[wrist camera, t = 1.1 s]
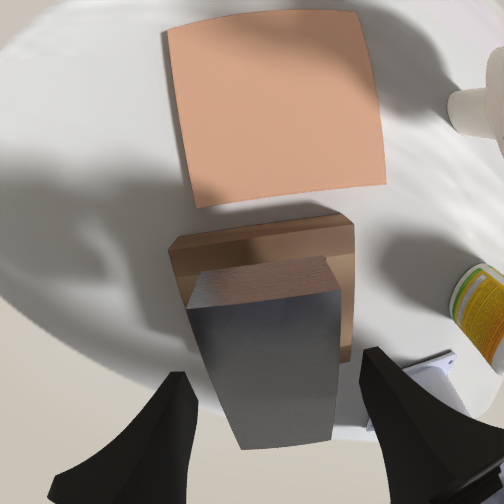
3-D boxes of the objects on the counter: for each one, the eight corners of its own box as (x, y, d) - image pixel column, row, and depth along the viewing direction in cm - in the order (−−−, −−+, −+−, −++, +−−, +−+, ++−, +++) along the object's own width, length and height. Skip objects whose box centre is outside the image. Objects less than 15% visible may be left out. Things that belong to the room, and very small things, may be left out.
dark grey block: (310, 347, 18) (331, 439, 11) (245, 355, 18) (241, 449, 11) (301, 218, 14) (341, 289, 7) (217, 230, 15) (185, 309, 8)
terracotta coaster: (381, 182, 14) (386, 184, 13) (198, 205, 14) (196, 208, 14) (353, 15, 10) (356, 11, 9) (170, 33, 10) (167, 29, 10)
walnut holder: (342, 341, 18) (349, 361, 16) (213, 358, 18) (210, 378, 16) (342, 213, 14) (354, 224, 12) (178, 236, 15) (167, 250, 13)
